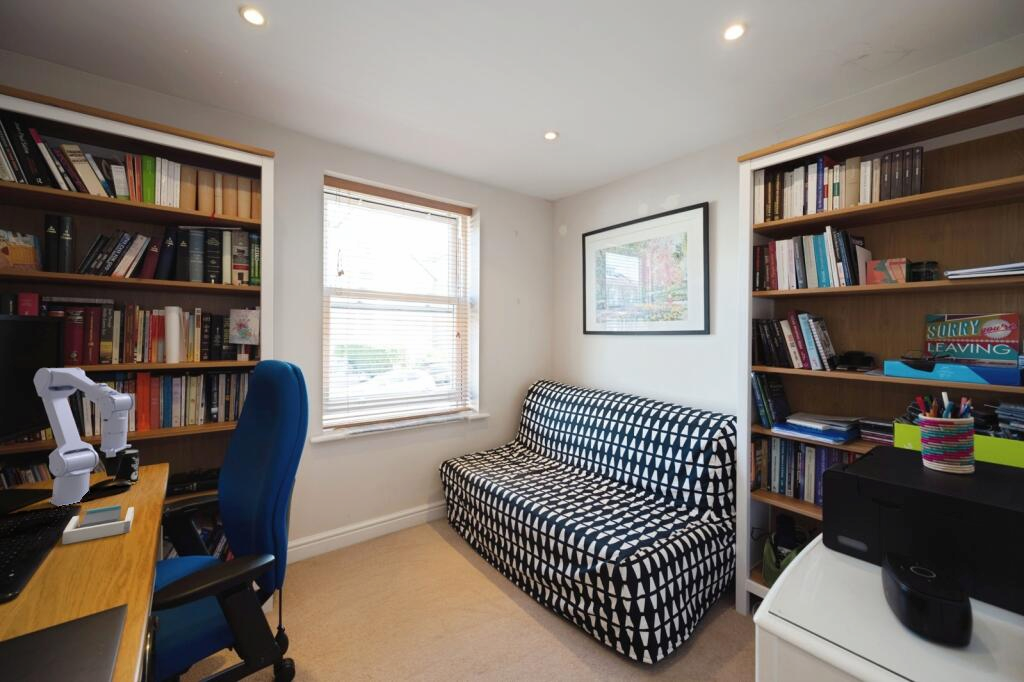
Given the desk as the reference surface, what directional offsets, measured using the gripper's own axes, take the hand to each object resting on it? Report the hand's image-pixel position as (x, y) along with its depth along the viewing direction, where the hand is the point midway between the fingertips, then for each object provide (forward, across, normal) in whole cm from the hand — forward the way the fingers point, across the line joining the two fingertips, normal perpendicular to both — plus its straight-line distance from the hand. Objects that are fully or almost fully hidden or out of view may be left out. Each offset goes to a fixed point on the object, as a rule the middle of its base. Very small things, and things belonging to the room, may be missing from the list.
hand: (112, 475), depth 129 cm
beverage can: (+10, +25, -2) cm, 27 cm away
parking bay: (+9, -22, 0) cm, 24 cm away
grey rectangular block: (+9, -20, 0) cm, 22 cm away
